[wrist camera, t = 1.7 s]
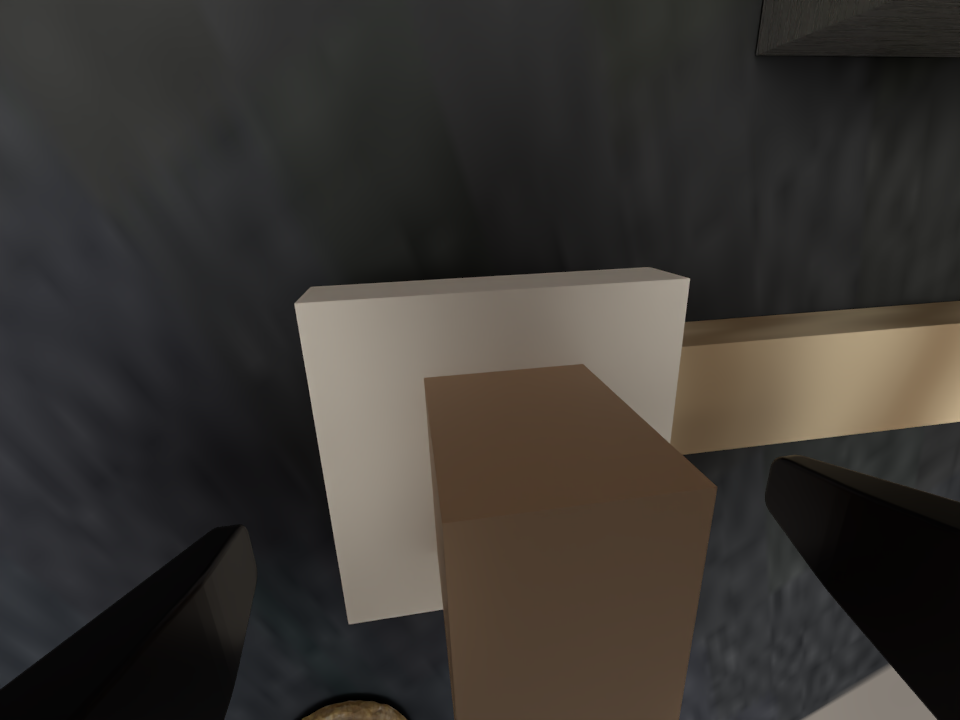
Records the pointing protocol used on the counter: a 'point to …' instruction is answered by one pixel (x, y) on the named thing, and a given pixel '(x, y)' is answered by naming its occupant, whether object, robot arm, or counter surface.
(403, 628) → the counter surface
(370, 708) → the sprinkles bottle
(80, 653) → the robot arm
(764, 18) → the cabinet
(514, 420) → the carriage
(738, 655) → the counter surface
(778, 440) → the rail
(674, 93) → the counter surface
